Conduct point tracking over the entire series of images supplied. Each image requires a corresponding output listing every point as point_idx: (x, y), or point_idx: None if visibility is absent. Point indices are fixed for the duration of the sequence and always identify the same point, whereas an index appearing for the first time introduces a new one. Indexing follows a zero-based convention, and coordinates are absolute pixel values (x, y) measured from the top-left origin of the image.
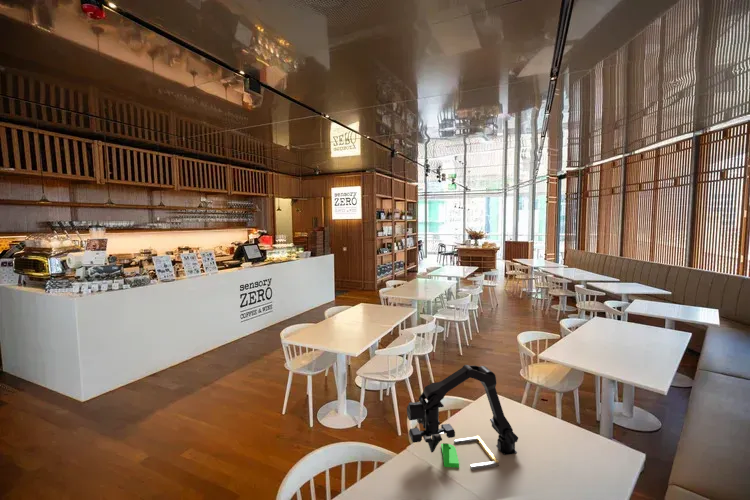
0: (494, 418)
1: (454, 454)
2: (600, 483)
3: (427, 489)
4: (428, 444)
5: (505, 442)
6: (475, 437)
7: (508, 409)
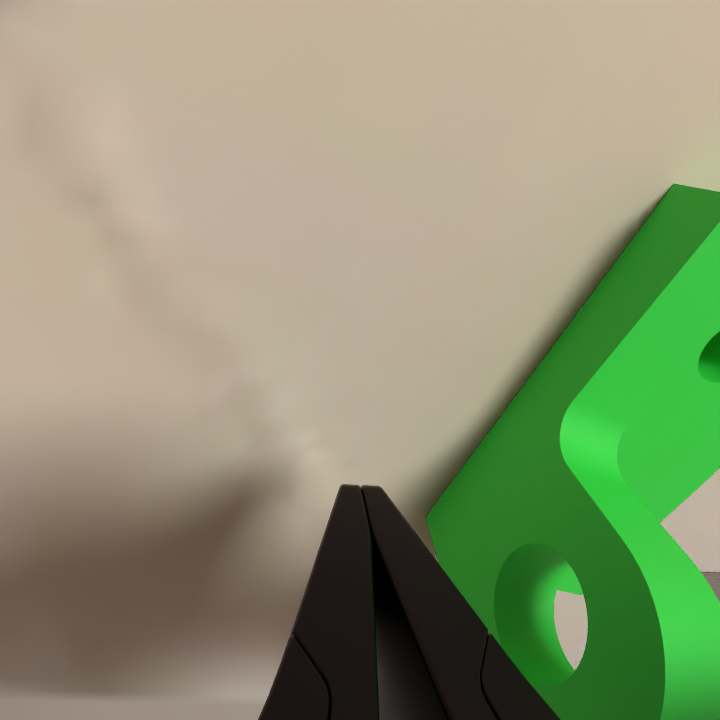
0: None
1: (667, 486)
2: None
3: (118, 673)
4: (301, 602)
5: None
6: None
7: None
